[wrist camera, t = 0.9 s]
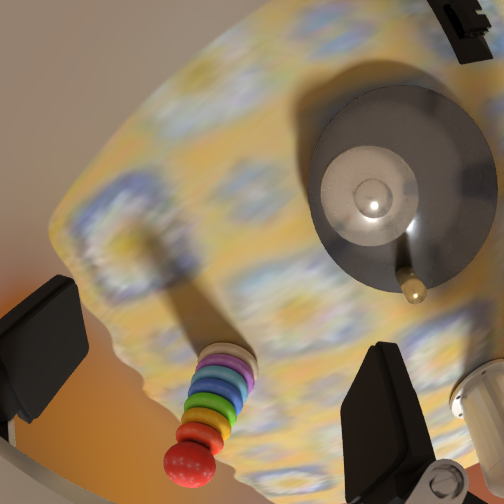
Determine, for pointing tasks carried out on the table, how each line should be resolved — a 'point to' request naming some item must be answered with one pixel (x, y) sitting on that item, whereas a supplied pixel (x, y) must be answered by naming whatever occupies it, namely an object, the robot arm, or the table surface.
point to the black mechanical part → (464, 28)
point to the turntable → (429, 186)
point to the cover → (369, 195)
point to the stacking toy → (210, 412)
